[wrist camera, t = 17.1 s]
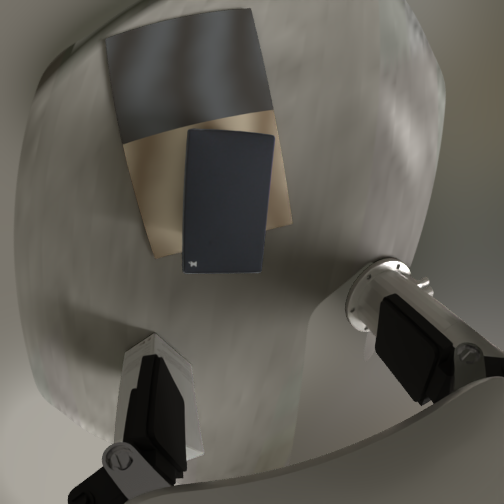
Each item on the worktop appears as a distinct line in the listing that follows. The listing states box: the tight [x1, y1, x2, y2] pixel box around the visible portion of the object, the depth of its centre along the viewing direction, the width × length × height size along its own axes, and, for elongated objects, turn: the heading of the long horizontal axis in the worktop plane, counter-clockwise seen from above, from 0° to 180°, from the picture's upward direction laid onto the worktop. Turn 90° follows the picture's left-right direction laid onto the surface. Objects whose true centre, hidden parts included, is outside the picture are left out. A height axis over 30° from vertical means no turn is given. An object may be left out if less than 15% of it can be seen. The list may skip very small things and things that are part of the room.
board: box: [106, 8, 293, 259], centre depth 26 cm, size 16×26×1 cm, turn 11°
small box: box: [182, 128, 275, 274], centre depth 24 cm, size 11×6×10 cm, turn 175°
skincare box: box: [114, 333, 204, 461], centre depth 29 cm, size 8×7×16 cm
